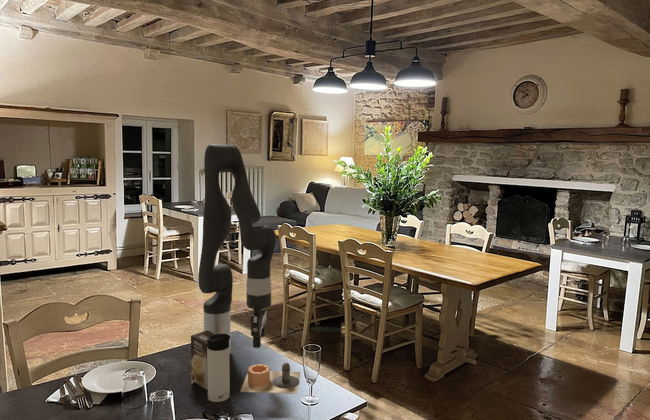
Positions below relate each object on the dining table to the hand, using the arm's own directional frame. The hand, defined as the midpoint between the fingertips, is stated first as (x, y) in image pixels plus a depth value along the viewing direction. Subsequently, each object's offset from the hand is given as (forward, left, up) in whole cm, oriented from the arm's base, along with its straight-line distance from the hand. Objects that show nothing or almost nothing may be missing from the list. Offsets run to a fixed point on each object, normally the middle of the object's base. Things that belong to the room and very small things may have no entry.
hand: (259, 341), depth 147 cm
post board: (+4, 0, -14) cm, 15 cm away
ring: (0, 0, -13) cm, 13 cm away
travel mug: (-10, -10, -15) cm, 20 cm away
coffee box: (-16, -1, -15) cm, 22 cm away
